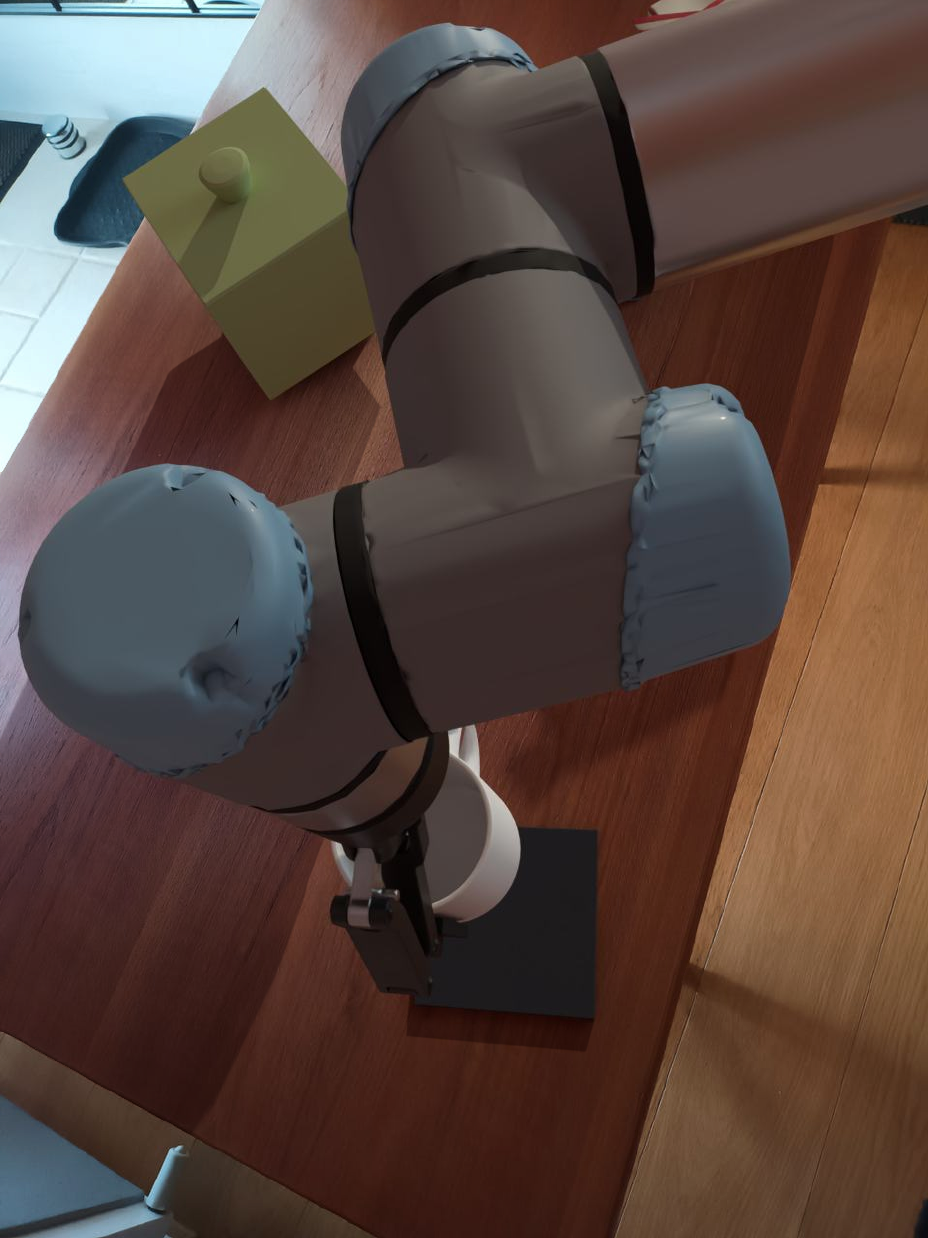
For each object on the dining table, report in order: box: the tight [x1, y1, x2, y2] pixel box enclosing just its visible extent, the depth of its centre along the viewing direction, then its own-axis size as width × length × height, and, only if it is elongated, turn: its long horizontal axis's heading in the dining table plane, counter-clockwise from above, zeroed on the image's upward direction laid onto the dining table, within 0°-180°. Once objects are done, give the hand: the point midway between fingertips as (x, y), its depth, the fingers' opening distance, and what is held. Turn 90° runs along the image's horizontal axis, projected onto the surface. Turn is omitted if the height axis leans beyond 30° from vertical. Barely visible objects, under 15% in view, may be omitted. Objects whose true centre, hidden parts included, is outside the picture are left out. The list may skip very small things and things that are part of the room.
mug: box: [330, 724, 520, 923], centre depth 54 cm, size 9×12×11 cm
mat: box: [413, 826, 599, 1020], centre depth 75 cm, size 14×14×1 cm
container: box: [121, 86, 376, 402], centre depth 92 cm, size 19×16×20 cm
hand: (453, 818), depth 57 cm, fingers closed on mug, 12 cm apart
